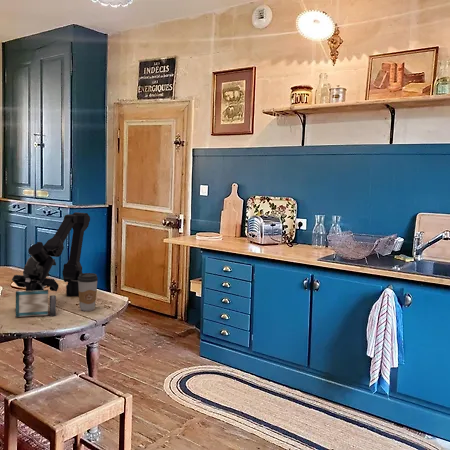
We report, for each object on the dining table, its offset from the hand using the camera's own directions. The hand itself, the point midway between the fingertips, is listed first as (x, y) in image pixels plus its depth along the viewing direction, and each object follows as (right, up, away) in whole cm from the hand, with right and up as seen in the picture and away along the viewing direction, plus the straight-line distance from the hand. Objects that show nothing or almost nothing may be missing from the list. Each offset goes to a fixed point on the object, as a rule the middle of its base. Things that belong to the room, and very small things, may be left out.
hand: (26, 300), depth 189 cm
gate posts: (+2, -6, +5) cm, 8 cm away
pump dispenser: (-16, 0, +48) cm, 50 cm away
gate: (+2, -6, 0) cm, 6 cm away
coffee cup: (+21, -6, +14) cm, 26 cm away
